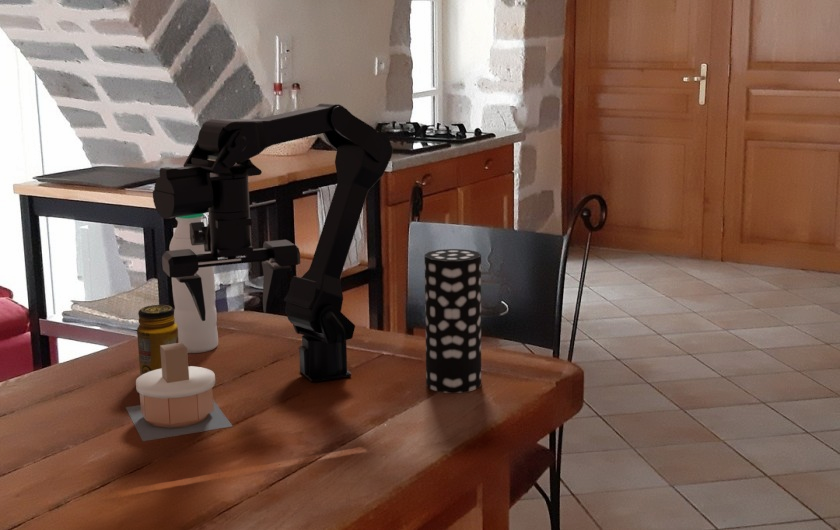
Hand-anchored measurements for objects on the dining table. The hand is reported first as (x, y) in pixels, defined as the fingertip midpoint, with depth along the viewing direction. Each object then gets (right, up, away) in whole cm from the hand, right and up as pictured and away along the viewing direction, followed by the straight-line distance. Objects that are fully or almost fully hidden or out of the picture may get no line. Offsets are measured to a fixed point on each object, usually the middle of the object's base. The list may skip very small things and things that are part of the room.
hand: (234, 316), depth 154 cm
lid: (-7, -9, -7) cm, 13 cm away
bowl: (-7, -14, -6) cm, 16 cm away
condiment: (-14, -11, +10) cm, 20 cm away
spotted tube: (+32, -11, +8) cm, 34 cm away
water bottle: (-11, -7, +28) cm, 31 cm away
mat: (-7, -14, -6) cm, 17 cm away
